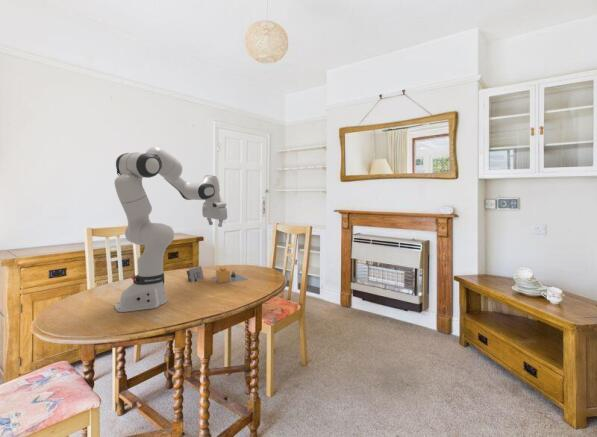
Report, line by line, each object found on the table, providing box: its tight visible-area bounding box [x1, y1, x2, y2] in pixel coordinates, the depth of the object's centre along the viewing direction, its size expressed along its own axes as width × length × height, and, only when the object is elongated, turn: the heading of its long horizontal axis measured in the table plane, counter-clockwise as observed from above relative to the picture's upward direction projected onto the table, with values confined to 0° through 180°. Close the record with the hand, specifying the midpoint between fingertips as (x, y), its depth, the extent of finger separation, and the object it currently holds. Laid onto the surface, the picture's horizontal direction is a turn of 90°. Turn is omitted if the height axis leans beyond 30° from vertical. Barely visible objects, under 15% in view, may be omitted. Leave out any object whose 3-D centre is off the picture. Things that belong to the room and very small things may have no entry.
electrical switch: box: [186, 265, 205, 283], centre depth 189 cm, size 9×5×9 cm, turn 152°
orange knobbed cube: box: [215, 266, 231, 284], centre depth 187 cm, size 6×6×8 cm
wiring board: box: [210, 269, 249, 285], centre depth 192 cm, size 18×16×6 cm
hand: (215, 225), depth 189 cm, fingers open, 8 cm apart
